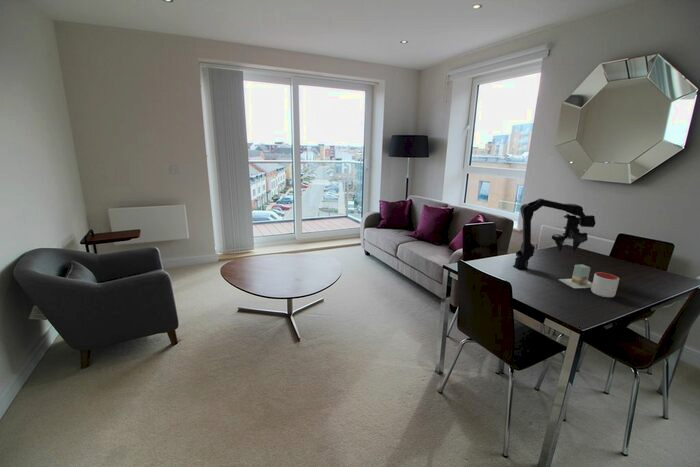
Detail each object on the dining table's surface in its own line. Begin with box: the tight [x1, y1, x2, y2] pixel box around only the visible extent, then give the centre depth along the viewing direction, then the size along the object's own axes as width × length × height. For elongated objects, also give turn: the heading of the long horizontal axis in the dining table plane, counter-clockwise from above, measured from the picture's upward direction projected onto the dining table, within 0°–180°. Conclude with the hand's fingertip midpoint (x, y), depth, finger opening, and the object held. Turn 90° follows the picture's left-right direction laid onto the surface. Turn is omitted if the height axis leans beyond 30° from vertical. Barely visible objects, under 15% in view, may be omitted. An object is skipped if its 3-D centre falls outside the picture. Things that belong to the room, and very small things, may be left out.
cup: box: [590, 272, 620, 298], centre depth 164 cm, size 10×10×10 cm
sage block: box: [572, 264, 591, 278], centre depth 176 cm, size 5×5×5 cm
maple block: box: [571, 272, 589, 285], centre depth 177 cm, size 5×5×5 cm
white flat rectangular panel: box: [557, 278, 593, 289], centre depth 178 cm, size 16×12×1 cm
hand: (566, 251), depth 191 cm, fingers open, 9 cm apart
